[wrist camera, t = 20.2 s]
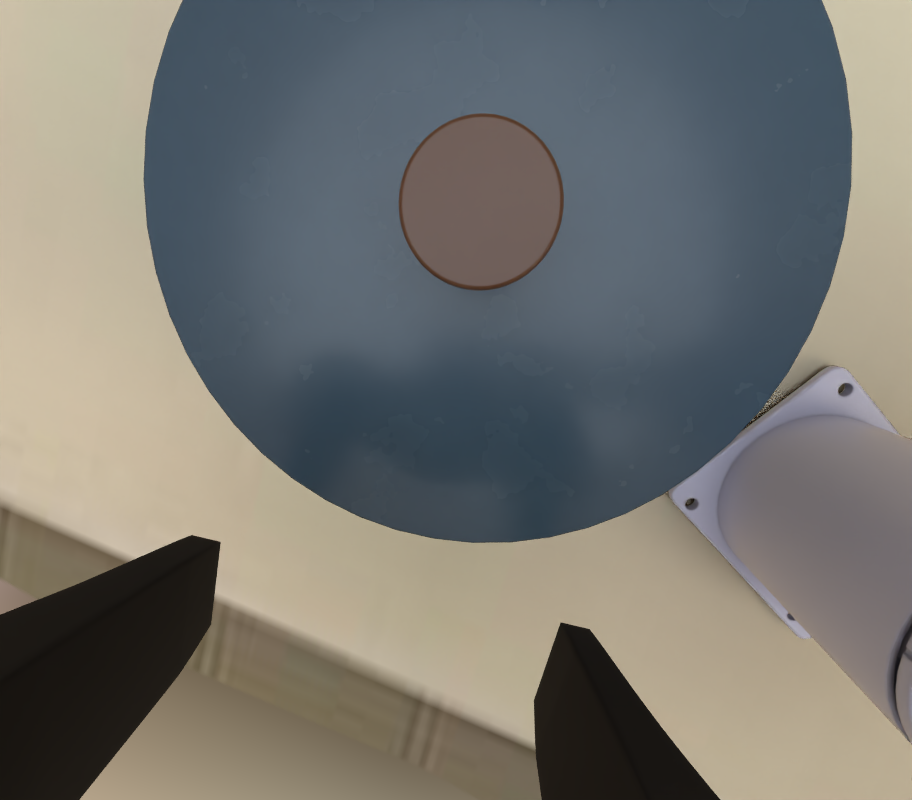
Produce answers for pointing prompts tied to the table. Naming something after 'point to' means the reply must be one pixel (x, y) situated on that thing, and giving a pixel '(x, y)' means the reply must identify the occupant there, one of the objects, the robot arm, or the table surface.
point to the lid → (496, 240)
